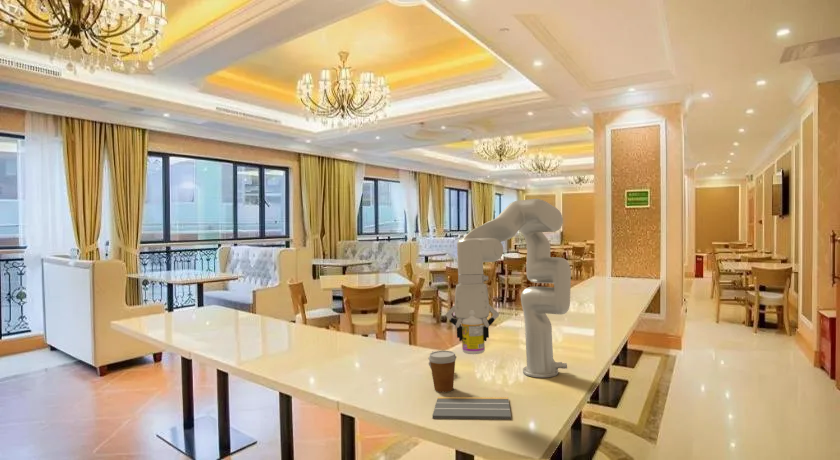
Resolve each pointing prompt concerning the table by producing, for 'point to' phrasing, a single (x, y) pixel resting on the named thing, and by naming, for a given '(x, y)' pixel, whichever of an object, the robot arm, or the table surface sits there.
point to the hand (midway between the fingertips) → (473, 339)
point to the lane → (472, 408)
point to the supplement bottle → (472, 335)
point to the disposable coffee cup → (443, 370)
